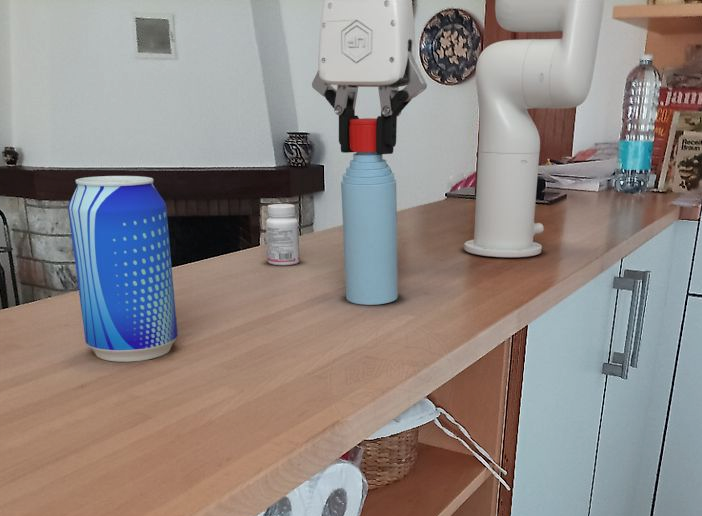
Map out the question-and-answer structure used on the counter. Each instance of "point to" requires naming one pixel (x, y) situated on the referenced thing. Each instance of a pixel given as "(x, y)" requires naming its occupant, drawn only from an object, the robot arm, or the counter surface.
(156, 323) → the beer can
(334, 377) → the counter surface
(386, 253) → the water bottle
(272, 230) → the pill bottle
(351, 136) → the cap
